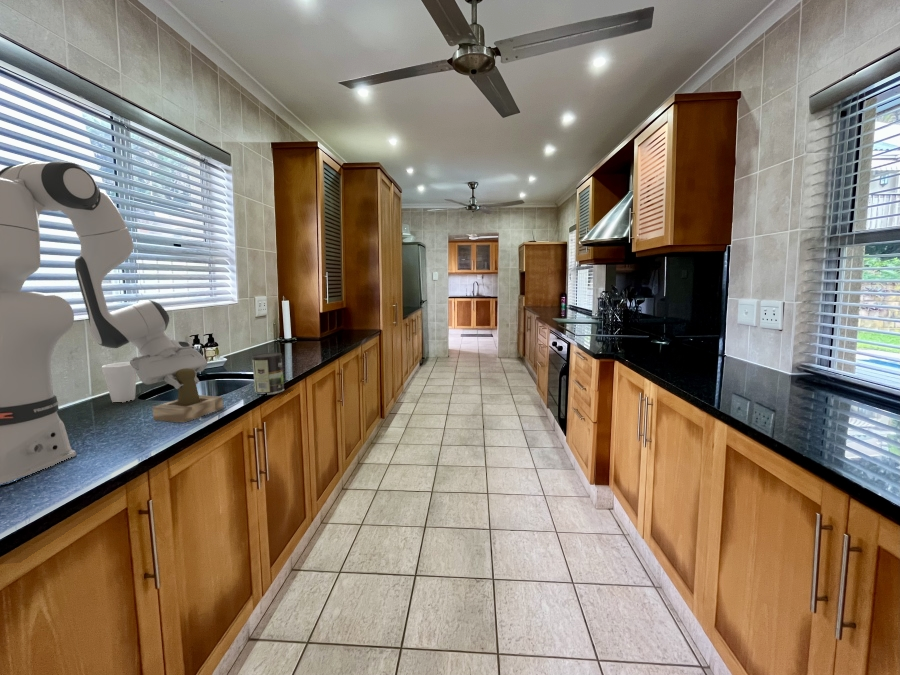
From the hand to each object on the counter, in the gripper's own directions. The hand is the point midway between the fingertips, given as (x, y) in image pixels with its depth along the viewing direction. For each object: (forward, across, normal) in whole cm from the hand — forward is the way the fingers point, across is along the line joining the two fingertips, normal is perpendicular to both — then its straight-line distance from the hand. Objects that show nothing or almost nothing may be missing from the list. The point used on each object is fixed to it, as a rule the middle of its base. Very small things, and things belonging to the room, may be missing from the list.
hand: (188, 385), depth 126 cm
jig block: (+6, 0, +7) cm, 9 cm away
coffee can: (+10, +29, +4) cm, 31 cm away
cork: (+4, 0, +5) cm, 6 cm away
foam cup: (-20, +6, +34) cm, 40 cm away
